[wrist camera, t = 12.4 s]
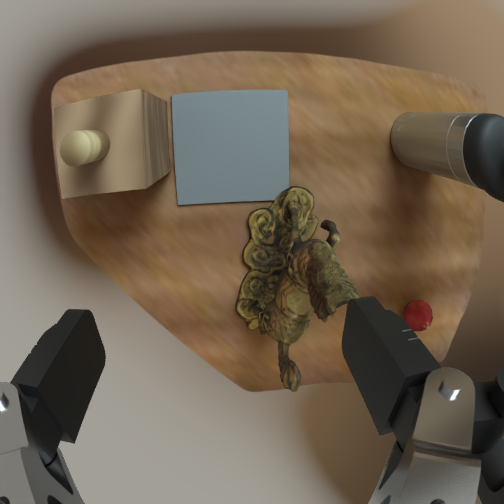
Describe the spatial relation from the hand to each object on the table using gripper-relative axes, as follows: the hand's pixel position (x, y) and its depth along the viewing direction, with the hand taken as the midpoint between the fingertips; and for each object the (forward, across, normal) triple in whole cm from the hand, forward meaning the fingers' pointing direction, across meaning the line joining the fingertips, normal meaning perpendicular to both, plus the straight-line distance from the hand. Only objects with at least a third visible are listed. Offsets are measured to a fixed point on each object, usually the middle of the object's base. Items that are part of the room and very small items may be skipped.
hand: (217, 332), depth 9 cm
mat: (+36, -1, -4) cm, 36 cm away
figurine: (+36, -7, +14) cm, 39 cm away
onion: (+36, -34, +25) cm, 56 cm away
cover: (+36, +13, -6) cm, 39 cm away
